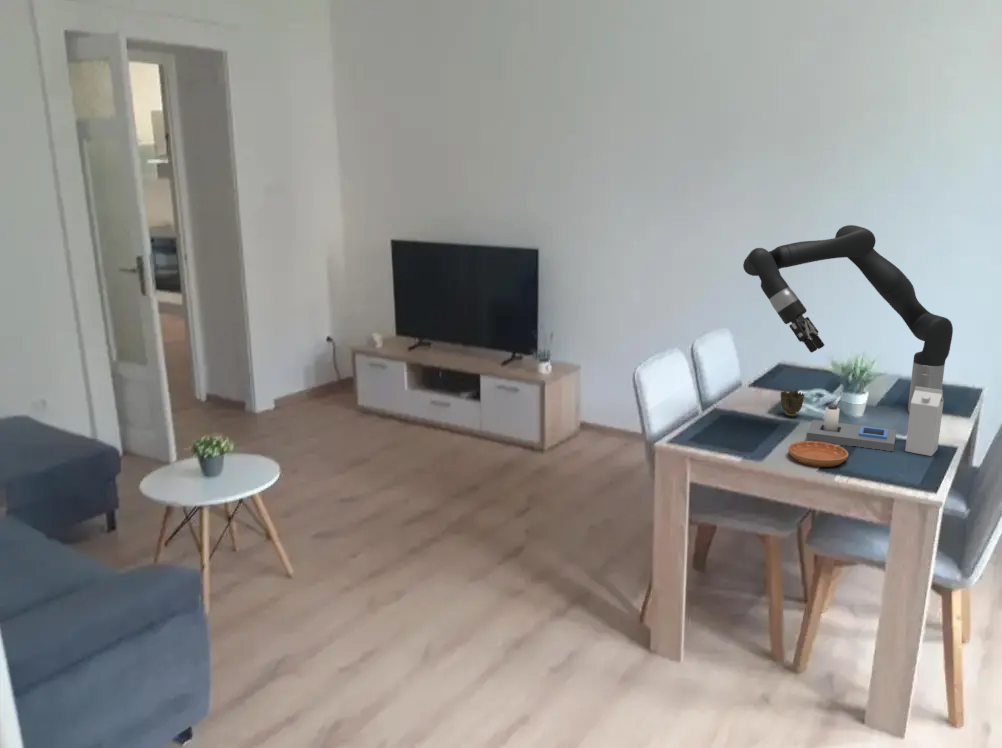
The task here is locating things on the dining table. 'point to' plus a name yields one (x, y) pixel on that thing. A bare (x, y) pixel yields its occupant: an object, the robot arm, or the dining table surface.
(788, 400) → the cup
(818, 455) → the saucer
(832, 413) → the capped white bottle
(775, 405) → the dining table surface
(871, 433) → the block with square holes
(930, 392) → the milk carton
